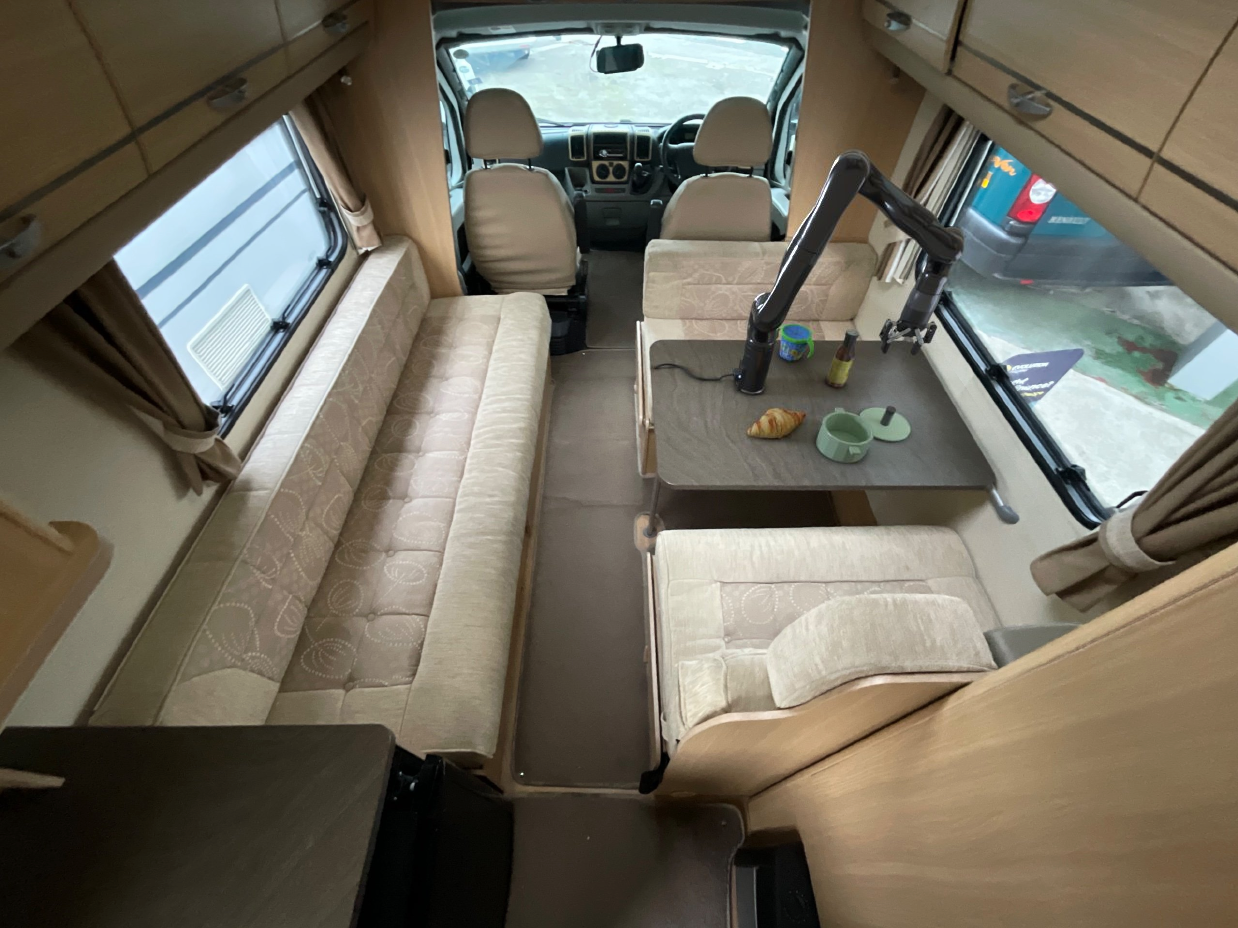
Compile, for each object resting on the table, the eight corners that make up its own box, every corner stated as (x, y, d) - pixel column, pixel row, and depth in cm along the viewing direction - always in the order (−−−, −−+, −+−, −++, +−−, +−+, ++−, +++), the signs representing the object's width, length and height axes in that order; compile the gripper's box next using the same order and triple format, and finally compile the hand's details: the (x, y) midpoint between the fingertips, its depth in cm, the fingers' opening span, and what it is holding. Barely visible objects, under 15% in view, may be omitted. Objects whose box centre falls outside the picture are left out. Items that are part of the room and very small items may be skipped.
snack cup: (816, 361, 201) (824, 337, 194) (796, 371, 197) (803, 347, 189) (784, 341, 210) (790, 317, 203) (764, 350, 205) (770, 326, 198)
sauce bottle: (846, 388, 190) (866, 338, 176) (828, 388, 190) (846, 338, 176) (841, 377, 195) (860, 327, 181) (823, 376, 195) (841, 327, 181)
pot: (824, 468, 163) (831, 450, 158) (809, 423, 177) (816, 405, 172) (873, 470, 163) (883, 452, 158) (855, 424, 177) (863, 406, 172)
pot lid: (865, 441, 172) (873, 424, 167) (852, 409, 183) (859, 392, 178) (916, 443, 172) (925, 426, 167) (899, 410, 183) (908, 393, 178)
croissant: (750, 451, 173) (761, 442, 165) (736, 422, 175) (747, 412, 167) (805, 431, 179) (818, 422, 171) (791, 404, 181) (804, 393, 174)
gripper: (942, 298, 156) (917, 347, 168) (891, 295, 156) (870, 344, 168) (951, 312, 151) (926, 361, 163) (899, 309, 151) (877, 359, 163)
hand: (898, 353), depth 165 cm, fingers open, 8 cm apart
